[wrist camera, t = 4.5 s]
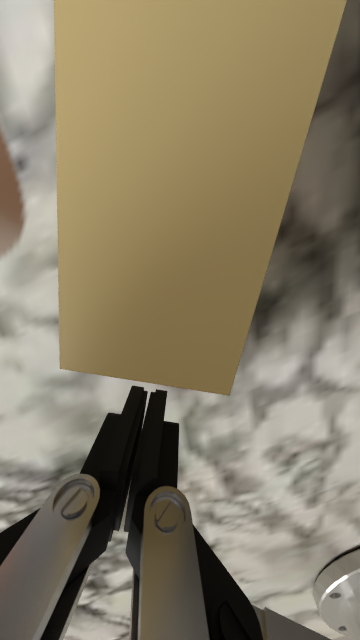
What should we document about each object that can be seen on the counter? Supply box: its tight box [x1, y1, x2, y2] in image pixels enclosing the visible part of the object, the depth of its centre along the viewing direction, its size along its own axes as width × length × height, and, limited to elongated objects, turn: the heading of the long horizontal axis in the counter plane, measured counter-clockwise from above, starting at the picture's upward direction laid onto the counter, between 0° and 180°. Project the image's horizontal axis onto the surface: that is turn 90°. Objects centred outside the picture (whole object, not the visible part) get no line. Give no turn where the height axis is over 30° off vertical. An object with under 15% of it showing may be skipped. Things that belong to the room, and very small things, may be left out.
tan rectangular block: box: [54, 0, 347, 395], centre depth 6 cm, size 4×12×6 cm, turn 170°
